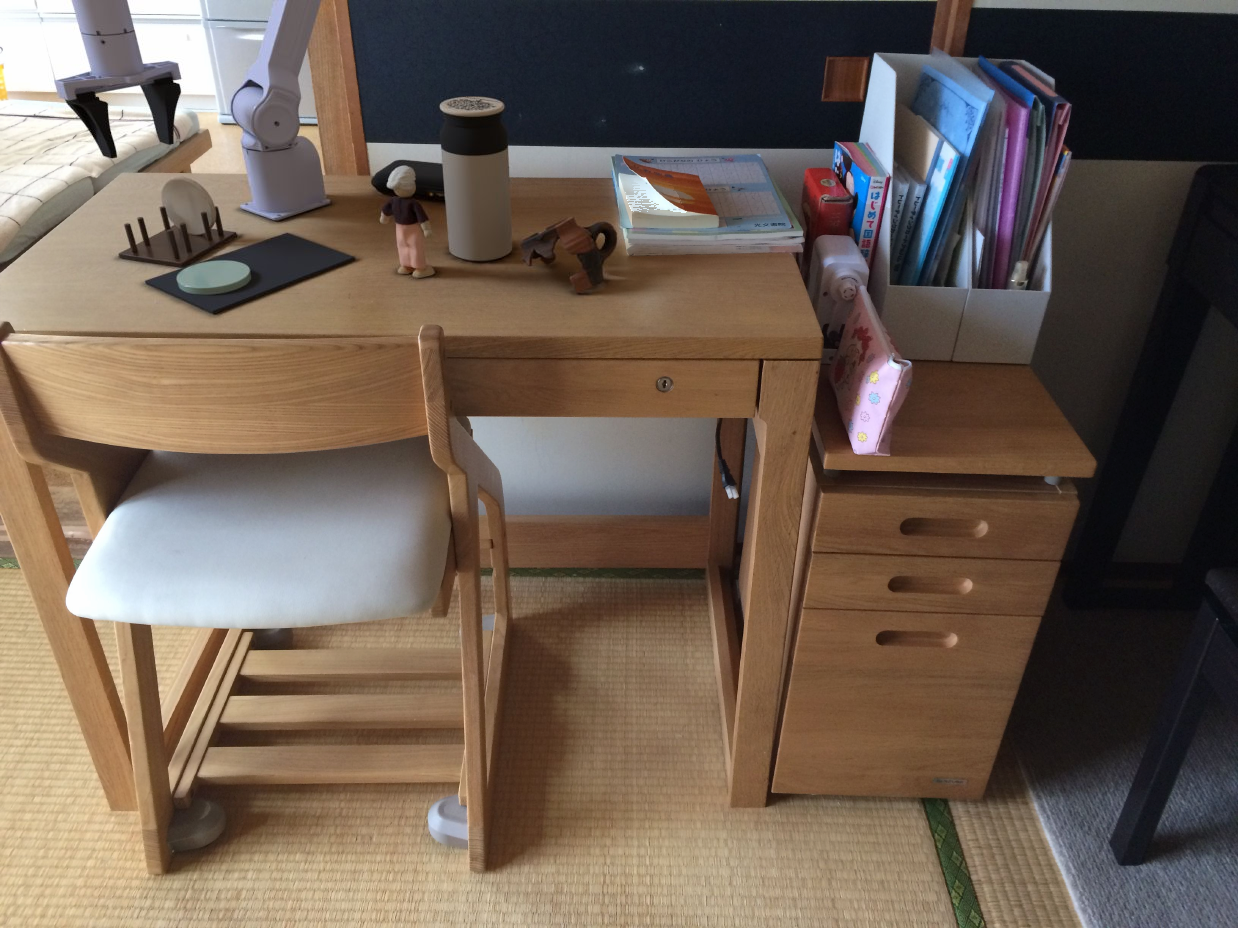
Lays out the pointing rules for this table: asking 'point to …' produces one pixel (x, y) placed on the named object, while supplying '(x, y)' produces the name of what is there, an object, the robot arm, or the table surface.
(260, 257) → the charcoal mat
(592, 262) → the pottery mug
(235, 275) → the pale green plate
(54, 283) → the table surface
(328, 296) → the table surface
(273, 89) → the robot arm
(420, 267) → the grandmother figurine
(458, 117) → the travel mug
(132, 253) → the plate rack
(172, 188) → the cream saucer
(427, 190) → the carrying case
